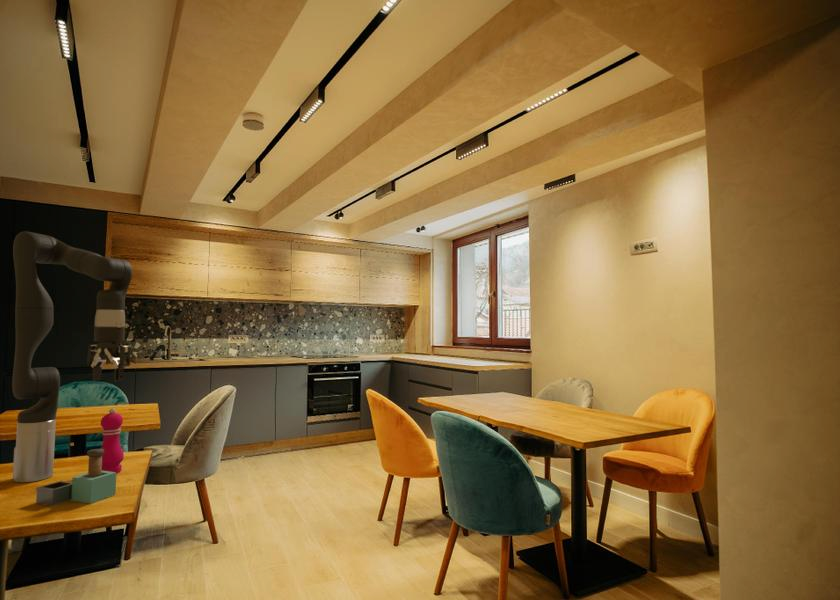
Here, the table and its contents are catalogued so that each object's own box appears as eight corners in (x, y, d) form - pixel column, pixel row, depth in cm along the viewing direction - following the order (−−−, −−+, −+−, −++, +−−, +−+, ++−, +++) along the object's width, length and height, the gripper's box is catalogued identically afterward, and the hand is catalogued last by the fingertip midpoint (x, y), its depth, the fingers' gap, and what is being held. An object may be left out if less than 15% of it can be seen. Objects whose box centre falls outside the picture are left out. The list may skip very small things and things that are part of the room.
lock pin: (81, 499, 127) (83, 451, 128) (95, 494, 131) (97, 448, 132) (92, 500, 126) (94, 452, 127) (105, 496, 130) (107, 449, 130)
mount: (36, 503, 124) (36, 487, 125) (59, 495, 130) (60, 480, 130) (52, 506, 122) (53, 490, 123) (75, 498, 128) (76, 483, 128)
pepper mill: (109, 476, 147) (112, 410, 148) (90, 475, 148) (93, 409, 150) (128, 469, 154) (131, 406, 155) (109, 468, 155) (112, 406, 157)
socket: (71, 500, 126) (72, 477, 127) (96, 491, 133) (97, 469, 133) (90, 503, 124) (91, 480, 125) (115, 494, 131) (116, 472, 131)
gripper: (80, 325, 140) (77, 381, 139) (116, 325, 135) (113, 383, 134) (104, 325, 147) (101, 378, 146) (139, 325, 143) (137, 380, 142)
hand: (107, 380), depth 140 cm, fingers open, 8 cm apart
